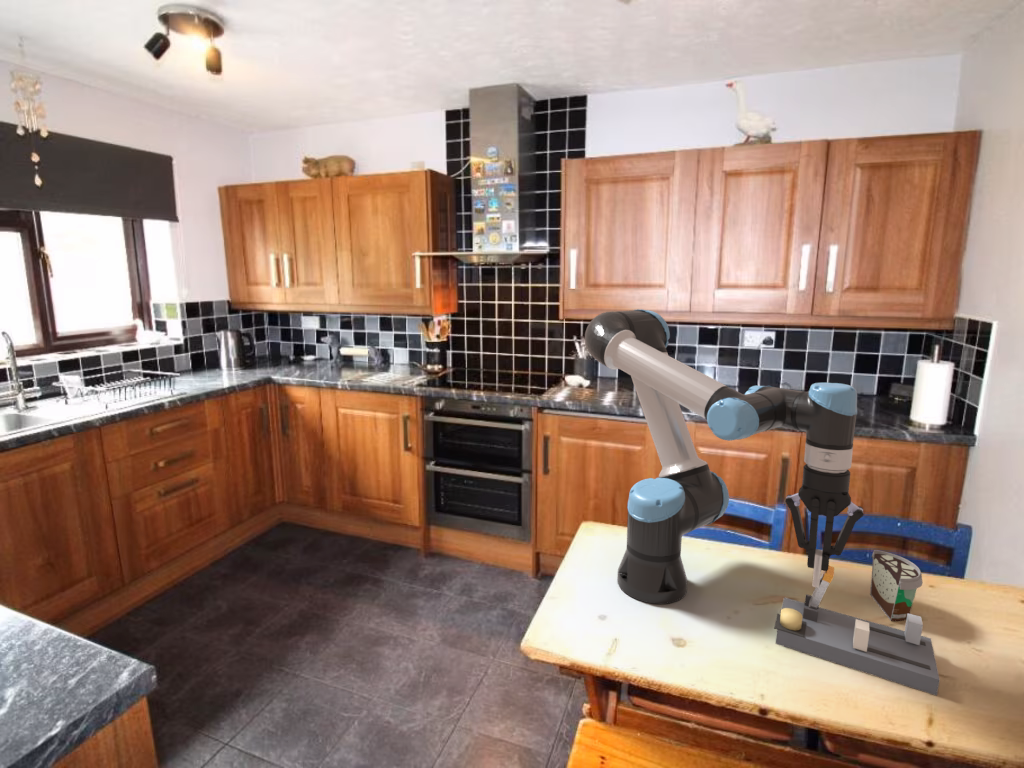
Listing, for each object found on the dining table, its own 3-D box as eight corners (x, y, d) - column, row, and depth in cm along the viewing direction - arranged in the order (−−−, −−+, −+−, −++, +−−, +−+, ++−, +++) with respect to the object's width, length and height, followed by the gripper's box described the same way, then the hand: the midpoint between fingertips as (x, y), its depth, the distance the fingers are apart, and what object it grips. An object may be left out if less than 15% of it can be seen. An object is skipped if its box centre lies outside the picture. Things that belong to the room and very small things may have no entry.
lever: (805, 613, 103) (825, 572, 100) (807, 603, 106) (826, 563, 103) (813, 617, 102) (833, 576, 99) (814, 607, 105) (834, 567, 102)
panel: (772, 642, 100) (775, 618, 99) (779, 609, 110) (782, 586, 109) (936, 695, 87) (941, 668, 86) (928, 652, 97) (932, 627, 96)
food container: (929, 629, 103) (937, 583, 101) (894, 625, 105) (901, 580, 103) (898, 593, 115) (904, 551, 113) (866, 590, 116) (872, 548, 115)
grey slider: (905, 641, 95) (908, 621, 94) (904, 632, 98) (907, 613, 97) (919, 645, 94) (922, 625, 93) (917, 636, 97) (921, 616, 96)
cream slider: (853, 647, 94) (855, 627, 93) (853, 638, 96) (855, 619, 95) (866, 651, 93) (869, 631, 92) (866, 642, 95) (869, 622, 94)
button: (778, 626, 100) (779, 615, 99) (781, 616, 102) (782, 605, 102) (800, 632, 98) (801, 622, 97) (802, 622, 101) (803, 612, 100)
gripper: (786, 466, 98) (777, 583, 102) (868, 478, 92) (855, 603, 96) (790, 456, 105) (781, 566, 109) (867, 466, 98) (855, 584, 102)
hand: (816, 583), depth 102 cm, fingers closed
